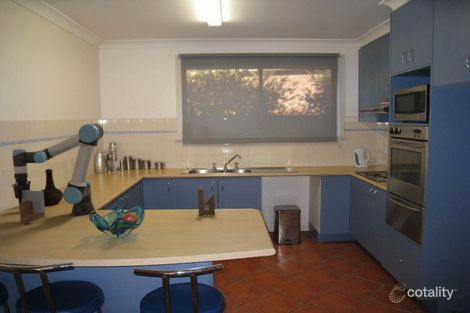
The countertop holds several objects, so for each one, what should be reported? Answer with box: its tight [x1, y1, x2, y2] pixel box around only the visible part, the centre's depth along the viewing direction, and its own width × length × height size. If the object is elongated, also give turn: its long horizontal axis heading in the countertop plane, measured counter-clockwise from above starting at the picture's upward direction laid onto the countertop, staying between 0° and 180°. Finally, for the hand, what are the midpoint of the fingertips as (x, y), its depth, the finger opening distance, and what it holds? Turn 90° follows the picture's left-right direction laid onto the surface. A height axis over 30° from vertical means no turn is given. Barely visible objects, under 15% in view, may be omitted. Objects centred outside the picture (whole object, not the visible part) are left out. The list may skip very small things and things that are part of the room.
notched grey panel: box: [18, 189, 46, 213], centre depth 233 cm, size 18×2×14 cm, turn 77°
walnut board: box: [18, 201, 46, 225], centre depth 234 cm, size 2×18×14 cm, turn 167°
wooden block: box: [197, 187, 216, 217], centre depth 238 cm, size 4×11×18 cm, turn 98°
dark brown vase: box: [39, 168, 64, 206], centre depth 280 cm, size 18×18×28 cm
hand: (23, 207), depth 235 cm, fingers closed on notched grey panel, 2 cm apart
